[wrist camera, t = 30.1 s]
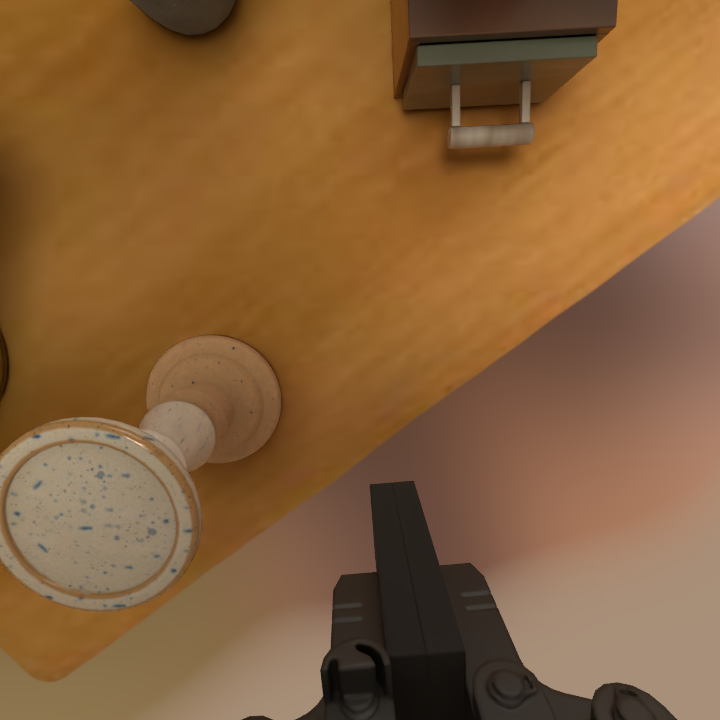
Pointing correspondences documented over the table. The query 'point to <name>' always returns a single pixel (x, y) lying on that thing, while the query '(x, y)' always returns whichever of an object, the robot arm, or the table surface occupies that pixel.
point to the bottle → (187, 14)
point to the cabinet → (490, 23)
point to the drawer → (493, 81)
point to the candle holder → (131, 479)
